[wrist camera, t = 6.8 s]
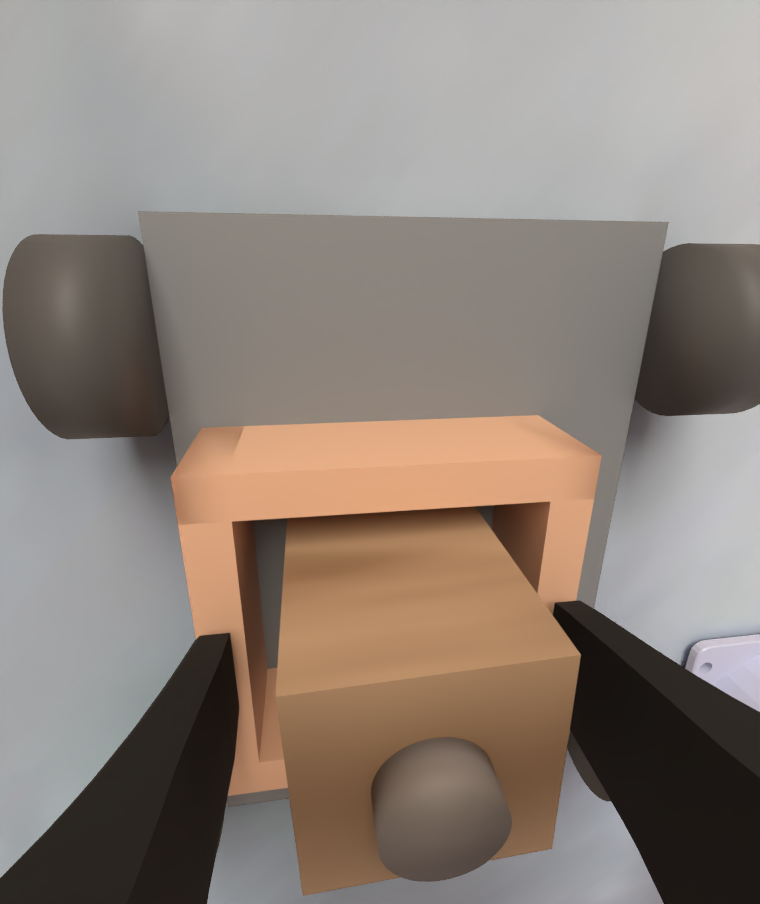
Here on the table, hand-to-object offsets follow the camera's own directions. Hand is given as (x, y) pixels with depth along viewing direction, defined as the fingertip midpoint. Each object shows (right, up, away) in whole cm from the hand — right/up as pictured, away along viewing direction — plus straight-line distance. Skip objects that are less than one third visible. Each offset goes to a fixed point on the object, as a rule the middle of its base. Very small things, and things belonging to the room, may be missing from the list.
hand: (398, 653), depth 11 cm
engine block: (0, +1, +3) cm, 3 cm away
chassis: (0, +2, +4) cm, 5 cm away
